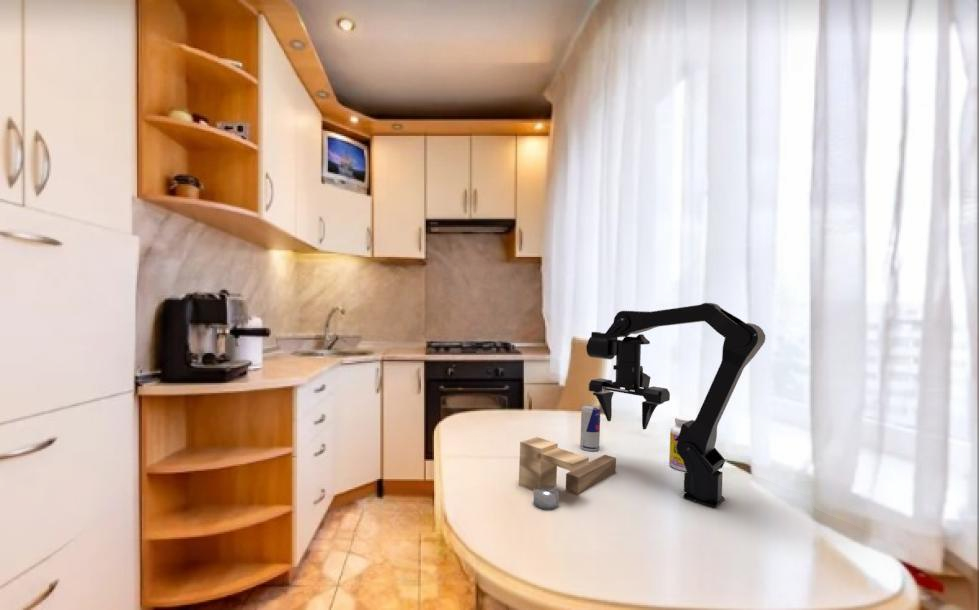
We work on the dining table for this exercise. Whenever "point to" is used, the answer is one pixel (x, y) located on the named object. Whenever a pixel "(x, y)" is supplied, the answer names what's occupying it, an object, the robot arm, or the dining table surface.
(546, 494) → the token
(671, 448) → the supplement bottle
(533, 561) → the dining table surface
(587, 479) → the batten
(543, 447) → the l-shaped wooden block
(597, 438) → the energy drink
